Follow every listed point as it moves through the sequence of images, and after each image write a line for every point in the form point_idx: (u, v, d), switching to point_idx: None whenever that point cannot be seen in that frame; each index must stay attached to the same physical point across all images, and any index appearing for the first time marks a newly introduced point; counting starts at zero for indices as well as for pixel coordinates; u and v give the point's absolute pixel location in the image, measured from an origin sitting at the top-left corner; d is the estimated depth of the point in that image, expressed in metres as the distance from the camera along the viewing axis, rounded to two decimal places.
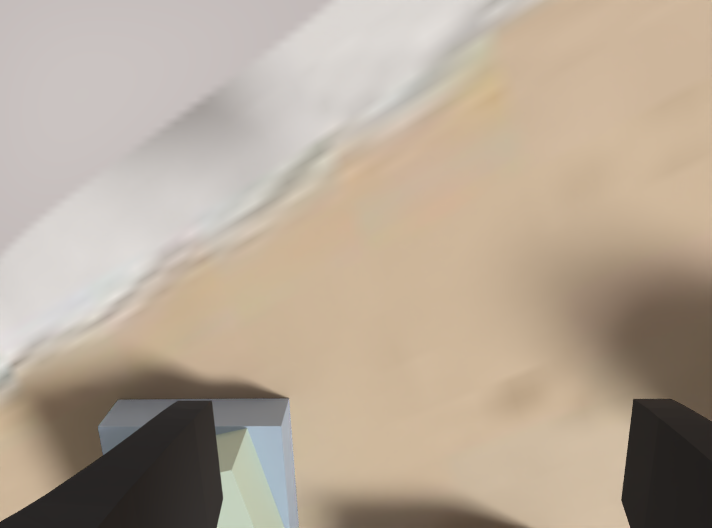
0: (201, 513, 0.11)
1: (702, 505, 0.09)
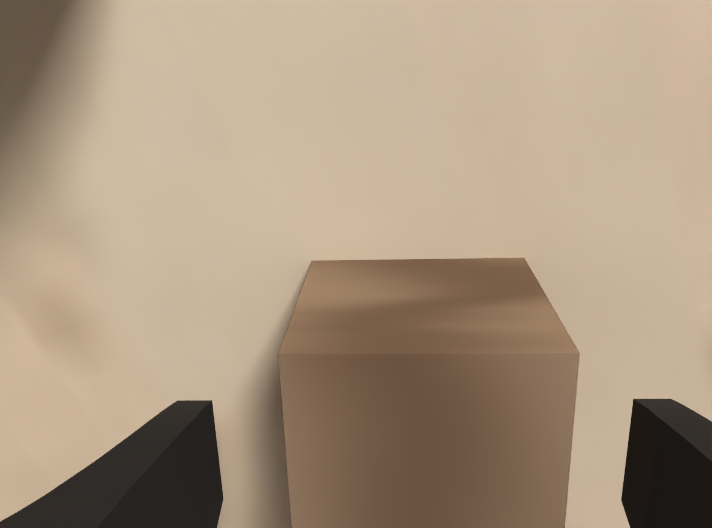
0: (201, 513, 0.11)
1: (702, 505, 0.09)
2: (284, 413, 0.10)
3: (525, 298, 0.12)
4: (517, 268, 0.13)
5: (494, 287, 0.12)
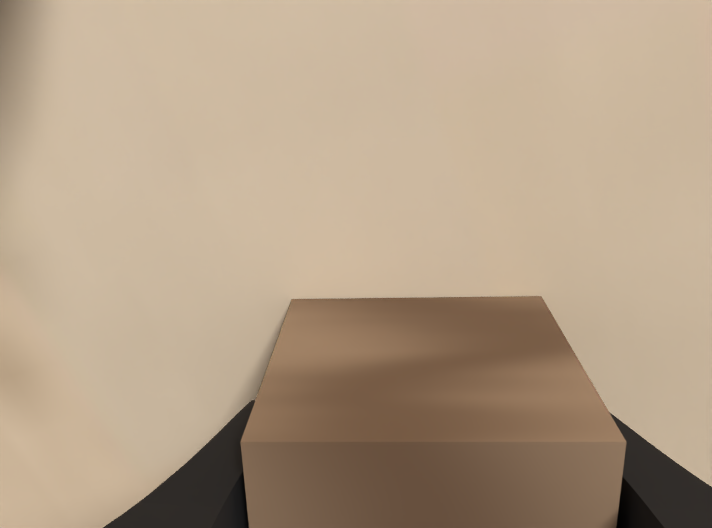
0: None
1: None
2: (249, 513, 0.08)
3: (549, 355, 0.10)
4: (535, 312, 0.11)
5: (509, 339, 0.10)
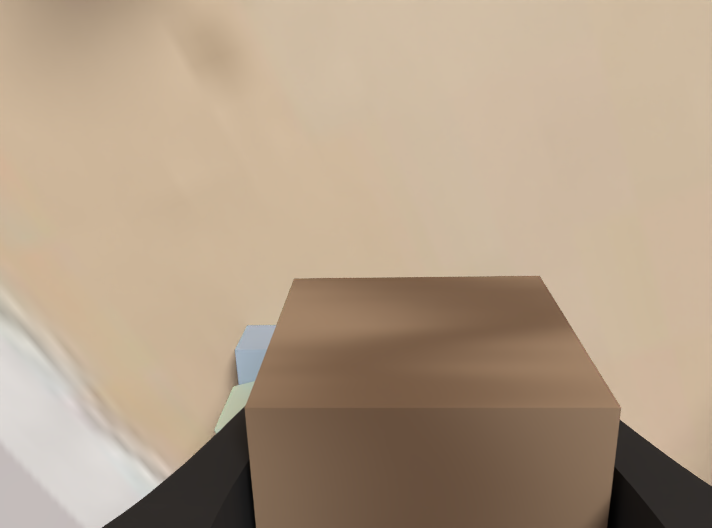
0: None
1: None
2: (253, 478, 0.08)
3: (546, 330, 0.10)
4: (533, 290, 0.11)
5: (508, 315, 0.10)
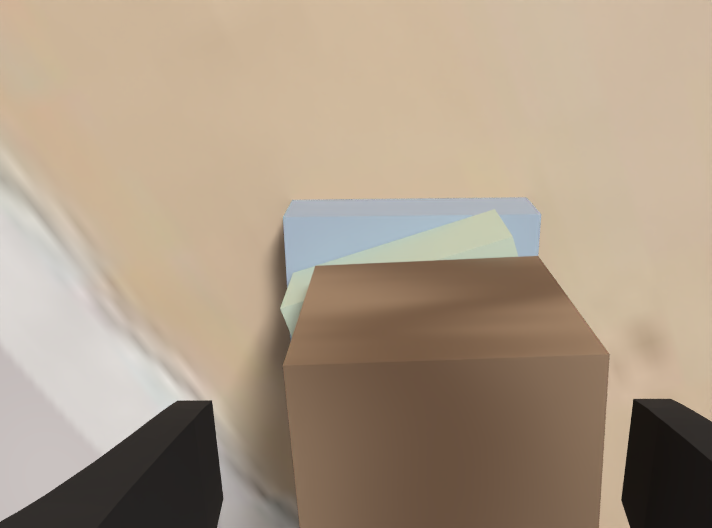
0: (201, 513, 0.11)
1: (702, 505, 0.09)
2: (291, 429, 0.10)
3: (544, 297, 0.11)
4: (532, 267, 0.13)
5: (509, 287, 0.12)
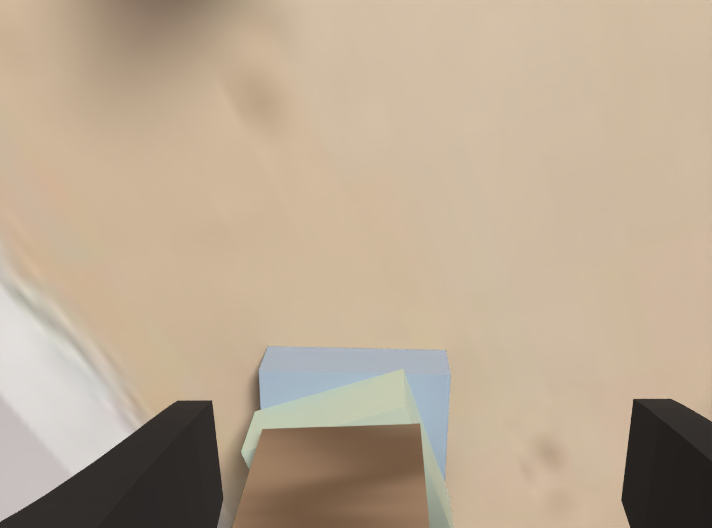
0: (201, 513, 0.11)
1: (702, 505, 0.09)
2: None
3: (409, 476, 0.17)
4: (412, 438, 0.18)
5: (389, 462, 0.17)
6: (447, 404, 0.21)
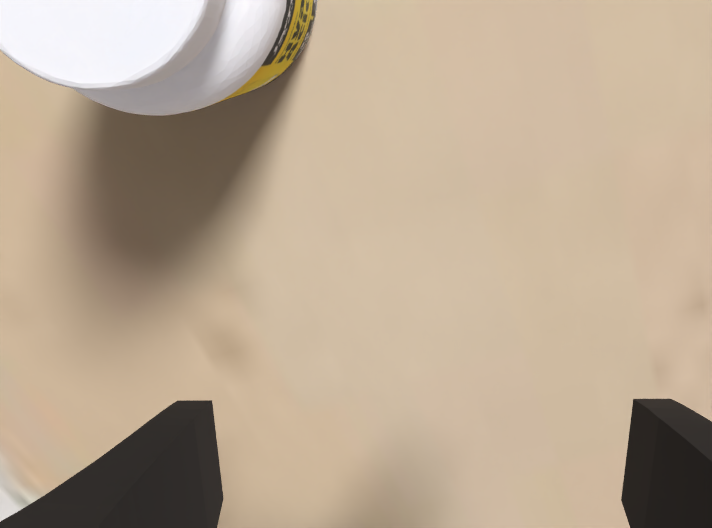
0: (201, 513, 0.11)
1: (702, 505, 0.09)
2: None
3: None
4: None
5: None
6: None
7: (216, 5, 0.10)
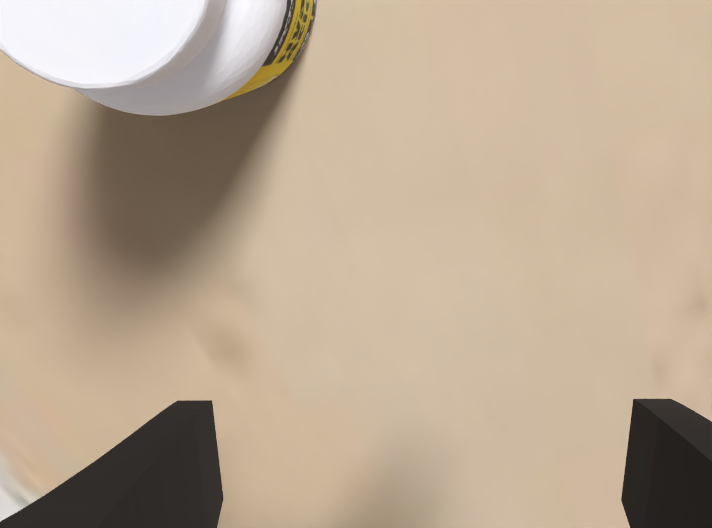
0: (201, 513, 0.11)
1: (702, 505, 0.09)
2: None
3: None
4: None
5: None
6: None
7: (217, 5, 0.10)
